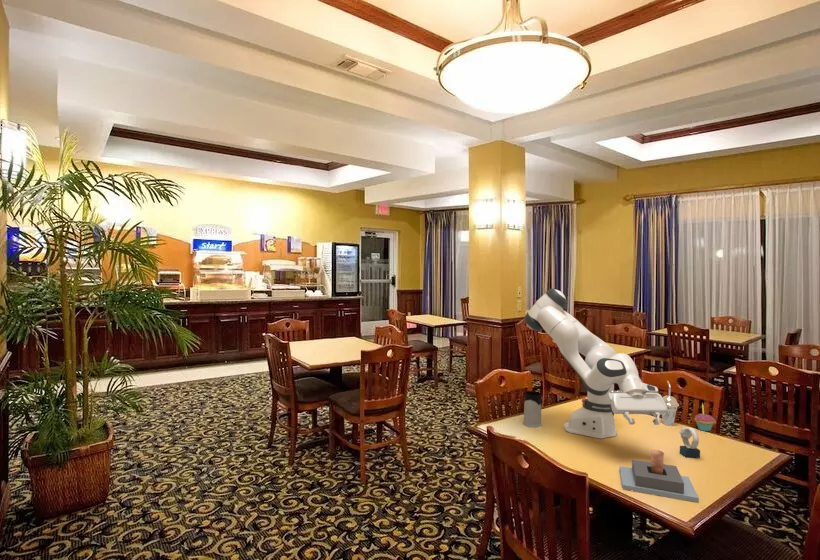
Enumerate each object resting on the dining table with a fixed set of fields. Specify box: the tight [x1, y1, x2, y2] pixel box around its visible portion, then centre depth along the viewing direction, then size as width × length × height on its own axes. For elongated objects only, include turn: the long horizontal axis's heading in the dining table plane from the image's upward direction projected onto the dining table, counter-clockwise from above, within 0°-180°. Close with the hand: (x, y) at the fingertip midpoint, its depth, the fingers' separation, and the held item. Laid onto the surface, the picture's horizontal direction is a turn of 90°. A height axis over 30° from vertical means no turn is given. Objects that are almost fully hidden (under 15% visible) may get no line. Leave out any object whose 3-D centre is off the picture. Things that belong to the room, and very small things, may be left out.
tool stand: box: [619, 459, 700, 503], centre depth 156 cm, size 22×16×5 cm
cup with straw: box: [661, 380, 680, 427], centre depth 219 cm, size 8×9×20 cm
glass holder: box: [522, 390, 543, 429], centre depth 217 cm, size 9×14×15 cm, turn 148°
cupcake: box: [693, 402, 717, 432], centre depth 212 cm, size 9×8×12 cm
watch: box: [679, 427, 701, 459], centre depth 182 cm, size 6×8×11 cm
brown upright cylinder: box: [650, 449, 665, 475], centre depth 156 cm, size 4×4×10 cm
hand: (644, 424), depth 171 cm, fingers open, 8 cm apart
